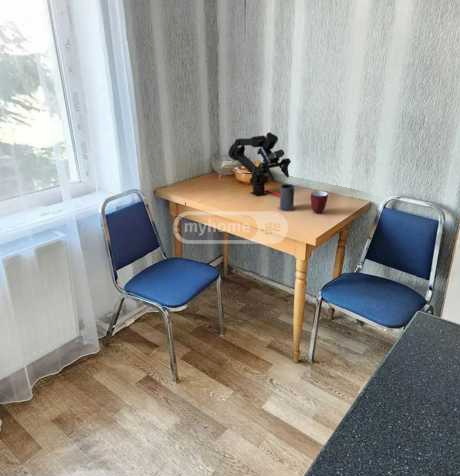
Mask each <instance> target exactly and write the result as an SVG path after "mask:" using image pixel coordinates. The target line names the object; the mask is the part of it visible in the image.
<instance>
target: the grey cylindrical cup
mask: <svg viewBox="0 0 460 476" xmlns="http://www.w3.org/2000/svg"><path fill="white" fill-rule="evenodd" d="M295 187H296V186H295V185H294V184H290V183H283V184H280V197H279V209H280V210H281V211H282V212H290V211H291V212H292V211H294V206H295V205H294V202H295V189H296V188H295Z"/></svg>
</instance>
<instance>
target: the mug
mask: <svg viewBox="0 0 460 476" xmlns="http://www.w3.org/2000/svg"><path fill="white" fill-rule="evenodd" d="M328 197H329V193H328V192H327V191H324V190H313V191H311V194H310V205H311V209H312V212H313V213H314V214H318V215H319V214H322V213H323V212H324V210H325V208H326V205H327V202H328Z"/></svg>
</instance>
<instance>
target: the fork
mask: <svg viewBox="0 0 460 476" xmlns="http://www.w3.org/2000/svg"><path fill="white" fill-rule="evenodd" d="M265 192H266V193H267V192H268V193H270V194H272V195H274V196H275V197H278V198H280V194H281V192H276V191H273V190H271V189H267V188H266V189H265Z"/></svg>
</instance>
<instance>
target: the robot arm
mask: <svg viewBox="0 0 460 476" xmlns="http://www.w3.org/2000/svg"><path fill="white" fill-rule="evenodd" d="M278 141H279V138H278V136H277V135H276V134H274V133H272V132H267V133H266V135H263V134H262V135H256V136H255V135H254V136H252V137H247V138H243V137H240V138H236V139H235V140H234V142H233V144H232V145H231V146H230V147H229V149H228V154H227V155H228V156H229V158H230V159H232V160H234V161H237V162H238V163H240V164H241V165H242V166H243V167H244V168H245V170H247V171H248V172H249V173H250V174H251V177H250V179H249V183H250V184H251V185H252V191H250V194H251V195H254V196H256V197H260V196H263V195H266V194H267V192H266V187H265V184H268V181H269V180H271V181H275V177H274V175H273V174H272V171H271V170H270V169H274V168H278V167H279V169H280V171H281V172H282V174H283V175H284V176H285V177H286V178H287V179H288V178H289V177H290V174H289V166H290V164H291V163H292V160H291V159H290V158H289V157H287V158H282V157H283V156H285V150H284V149H281V148H280V149H279V150H275V151H272V150H273V149H274V148H275V146H276V145H277V143H278ZM245 146H250V147H252V148H258V149H257V153H256V154H257V155H261V157H262V159H263V160H262V162H260V163H259V164H258V166H257V165H256V164H255V163H254V162H253V161H252V160H250V158H248V157H247V155H246V154H245V151H246V147H245ZM280 158H282V159H281V161H280Z"/></svg>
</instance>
